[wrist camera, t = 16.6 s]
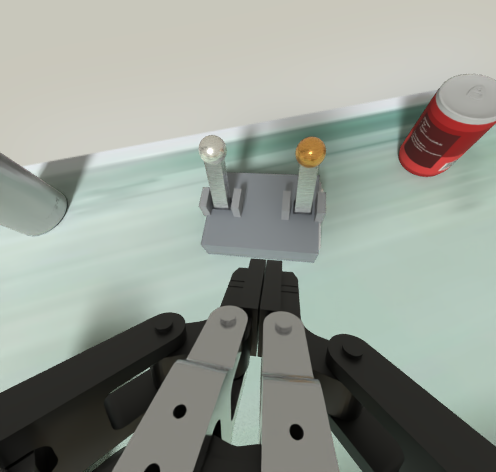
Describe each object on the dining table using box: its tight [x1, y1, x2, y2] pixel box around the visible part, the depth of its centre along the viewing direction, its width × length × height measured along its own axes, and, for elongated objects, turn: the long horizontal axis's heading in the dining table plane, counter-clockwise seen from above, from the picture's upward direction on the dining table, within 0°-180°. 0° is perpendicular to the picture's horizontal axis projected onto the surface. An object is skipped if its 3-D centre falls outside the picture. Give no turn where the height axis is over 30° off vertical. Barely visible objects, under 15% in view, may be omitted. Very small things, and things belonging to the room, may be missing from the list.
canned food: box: [399, 74, 496, 177], centre depth 33 cm, size 8×8×11 cm
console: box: [199, 172, 326, 263], centre depth 34 cm, size 17×12×7 cm
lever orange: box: [293, 137, 326, 215], centre depth 29 cm, size 3×3×10 cm
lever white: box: [199, 135, 232, 210], centre depth 30 cm, size 3×3×10 cm
